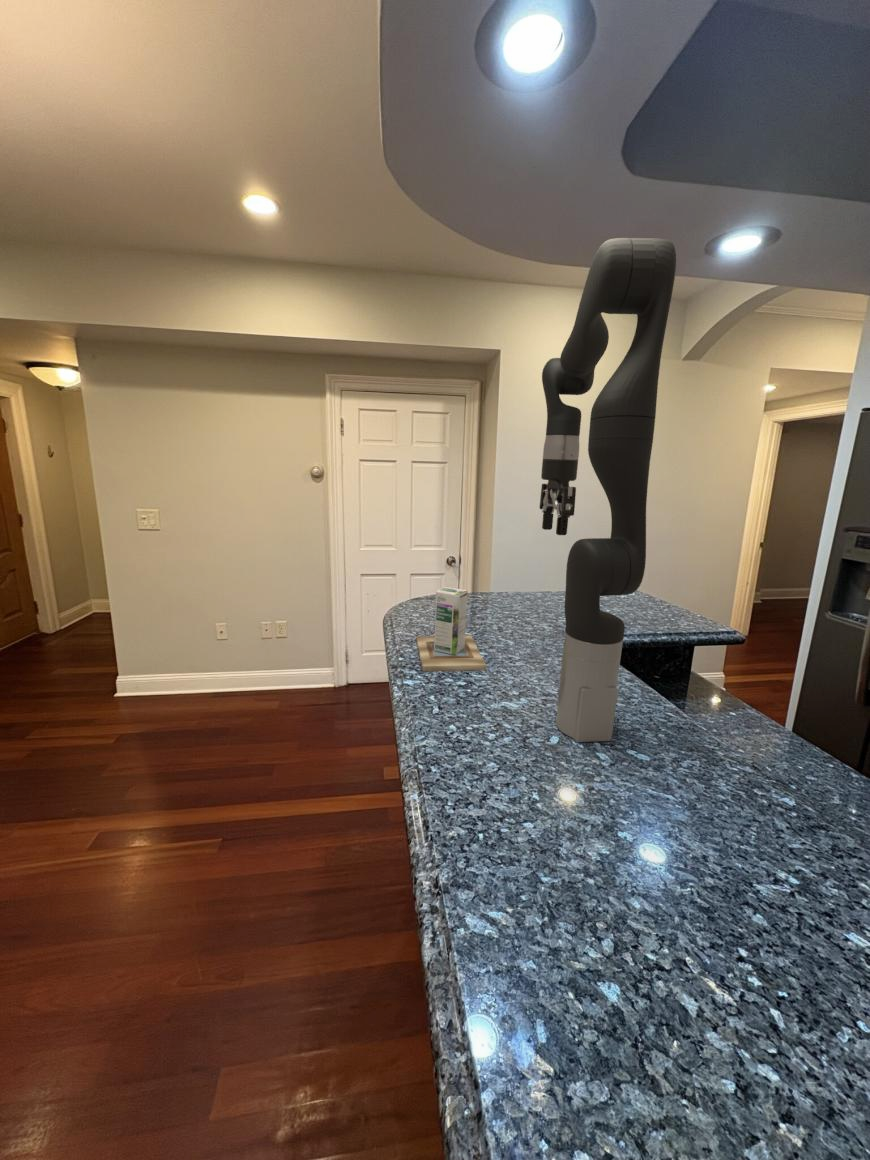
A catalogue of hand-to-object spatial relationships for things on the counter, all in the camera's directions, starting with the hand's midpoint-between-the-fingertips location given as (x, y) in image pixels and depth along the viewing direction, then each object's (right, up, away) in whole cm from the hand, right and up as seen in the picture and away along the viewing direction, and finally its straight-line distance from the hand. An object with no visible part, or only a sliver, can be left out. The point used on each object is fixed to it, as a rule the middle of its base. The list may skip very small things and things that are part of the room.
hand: (553, 532), depth 108 cm
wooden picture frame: (-24, -28, +5) cm, 37 cm away
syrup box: (-23, -27, +5) cm, 36 cm away
